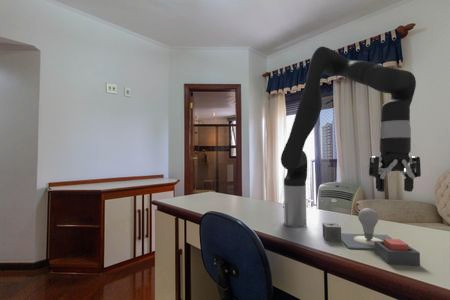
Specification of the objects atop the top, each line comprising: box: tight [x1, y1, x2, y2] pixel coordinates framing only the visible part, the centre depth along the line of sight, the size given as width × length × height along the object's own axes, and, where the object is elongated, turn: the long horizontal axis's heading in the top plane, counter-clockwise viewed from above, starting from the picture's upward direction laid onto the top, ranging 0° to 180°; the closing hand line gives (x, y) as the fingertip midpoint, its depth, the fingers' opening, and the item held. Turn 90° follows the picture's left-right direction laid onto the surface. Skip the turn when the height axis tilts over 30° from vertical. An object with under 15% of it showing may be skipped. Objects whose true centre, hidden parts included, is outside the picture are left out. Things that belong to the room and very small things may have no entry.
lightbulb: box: [357, 207, 379, 240], centre depth 83 cm, size 6×6×11 cm
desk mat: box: [340, 232, 393, 251], centre depth 83 cm, size 18×14×1 cm
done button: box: [384, 238, 409, 251], centre depth 70 cm, size 4×4×2 cm
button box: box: [374, 241, 421, 266], centre depth 70 cm, size 8×8×4 cm
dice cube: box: [322, 222, 342, 242], centre depth 87 cm, size 5×5×5 cm
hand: (394, 191), depth 71 cm, fingers open, 8 cm apart
